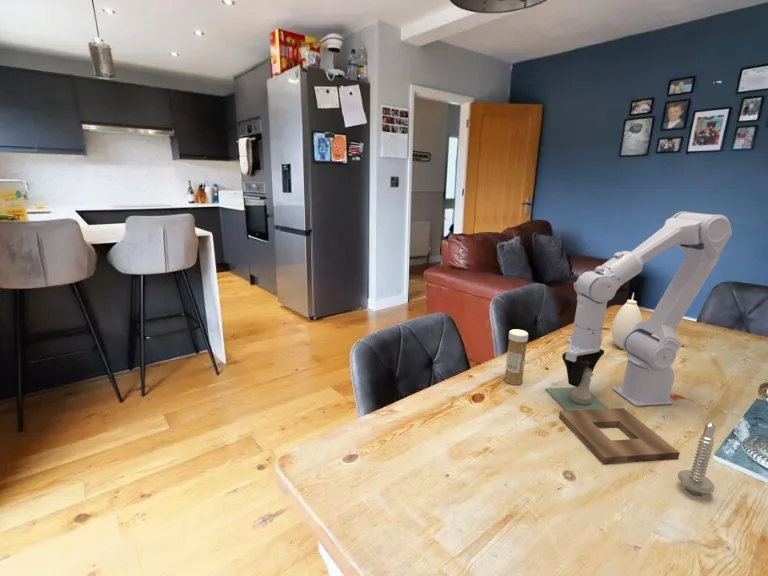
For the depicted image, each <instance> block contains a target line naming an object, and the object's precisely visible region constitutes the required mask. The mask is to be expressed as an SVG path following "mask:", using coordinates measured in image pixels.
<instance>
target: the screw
mask: <svg viewBox="0 0 768 576" xmlns="http://www.w3.org/2000/svg"><path fill="white" fill-rule="evenodd" d="M702 432H703V433H702V434H701V435H700V437H699V440H698V444H697V447H696V448H697V449H696V450H695V452H696V453H695V454H694V455H695V456H694V459H693V462H692V466H691V467H692V468H691V470H690V469H684V470H680V471H679V472H678V473H677V478H678V480H679V481H680V482H681V484H683V485H684V488H683V490H684V491H685V492H687V493H688V494H690V495H691V496H694V497H701V498H703V496H704V494H711V493H713V492H715V488H716V487H715V484H714V483H713V481H712V480H711V479H709V477H707V476H706V475H707V474H706V473H707V471H708V466H709V462H710V459H711V456H712V452H713V449H714V448H713V447H714V443H715V432H716V425H715V424H714V423H713V422H707V423H706V424H705V425H704V429H703V431H702Z"/></svg>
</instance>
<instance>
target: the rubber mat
mask: <svg viewBox="0 0 768 576" xmlns="http://www.w3.org/2000/svg"><path fill="white" fill-rule="evenodd" d="M574 388H576V386H571V387H570V386H569V387H551V388H545V389H544V390H545V391H546V393H548V394H549V395H550V397H552V399H554V400H555V401H556V403H557V404H558V405H559V406H561V407H562V408H563V409H564V411H573V410H593V409H610V408H609V406H607V405H606V404H605V403H603V402H602V401H601V400H600V399H599V398H598V397H596V396H595V395H594V394H593V393H591V392H590V394H591V395H592V399H591V403H590V404H588V405H581V404H578V403H575V402H574V401H573V400H572V399H571V395H572V394H571V393H572V391H573V390H574Z"/></svg>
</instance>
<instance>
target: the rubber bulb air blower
mask: <svg viewBox="0 0 768 576" xmlns="http://www.w3.org/2000/svg"><path fill="white" fill-rule="evenodd" d="M634 298H635V292H632V295H631V299H627V300H626V302H625V303H624V304H623V305H622V306H621V307H620V308H619V310H618V311H617V313H616V314H615V316H614V319H613V322H612V326H611V337H612V340H613V342H614V343H615V344H616V346H617V347H619V348H620V349H623V350H625V349H624V348H623V340H624V338H625V336H626V335H627V334H628V333H629V332H630V331H632V330H633V329H634V327H635V326H636V324H637V323H639V322H642V321H643V317H642V313H641V310H640V307H639V306H638V301H636V300H634Z"/></svg>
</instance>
